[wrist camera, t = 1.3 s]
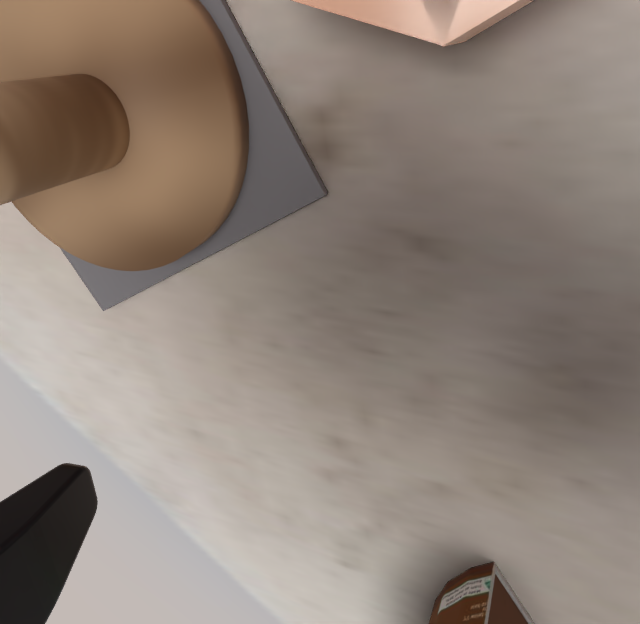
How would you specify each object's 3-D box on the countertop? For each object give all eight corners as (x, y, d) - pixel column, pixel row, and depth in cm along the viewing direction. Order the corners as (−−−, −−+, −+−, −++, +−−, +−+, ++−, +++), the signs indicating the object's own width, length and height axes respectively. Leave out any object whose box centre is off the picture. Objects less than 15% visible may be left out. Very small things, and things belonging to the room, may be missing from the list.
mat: (327, 193, 19) (325, 195, 19) (107, 308, 25) (103, 311, 25) (132, -174, 16) (125, -177, 16) (-67, 51, 22) (-74, 52, 22)
